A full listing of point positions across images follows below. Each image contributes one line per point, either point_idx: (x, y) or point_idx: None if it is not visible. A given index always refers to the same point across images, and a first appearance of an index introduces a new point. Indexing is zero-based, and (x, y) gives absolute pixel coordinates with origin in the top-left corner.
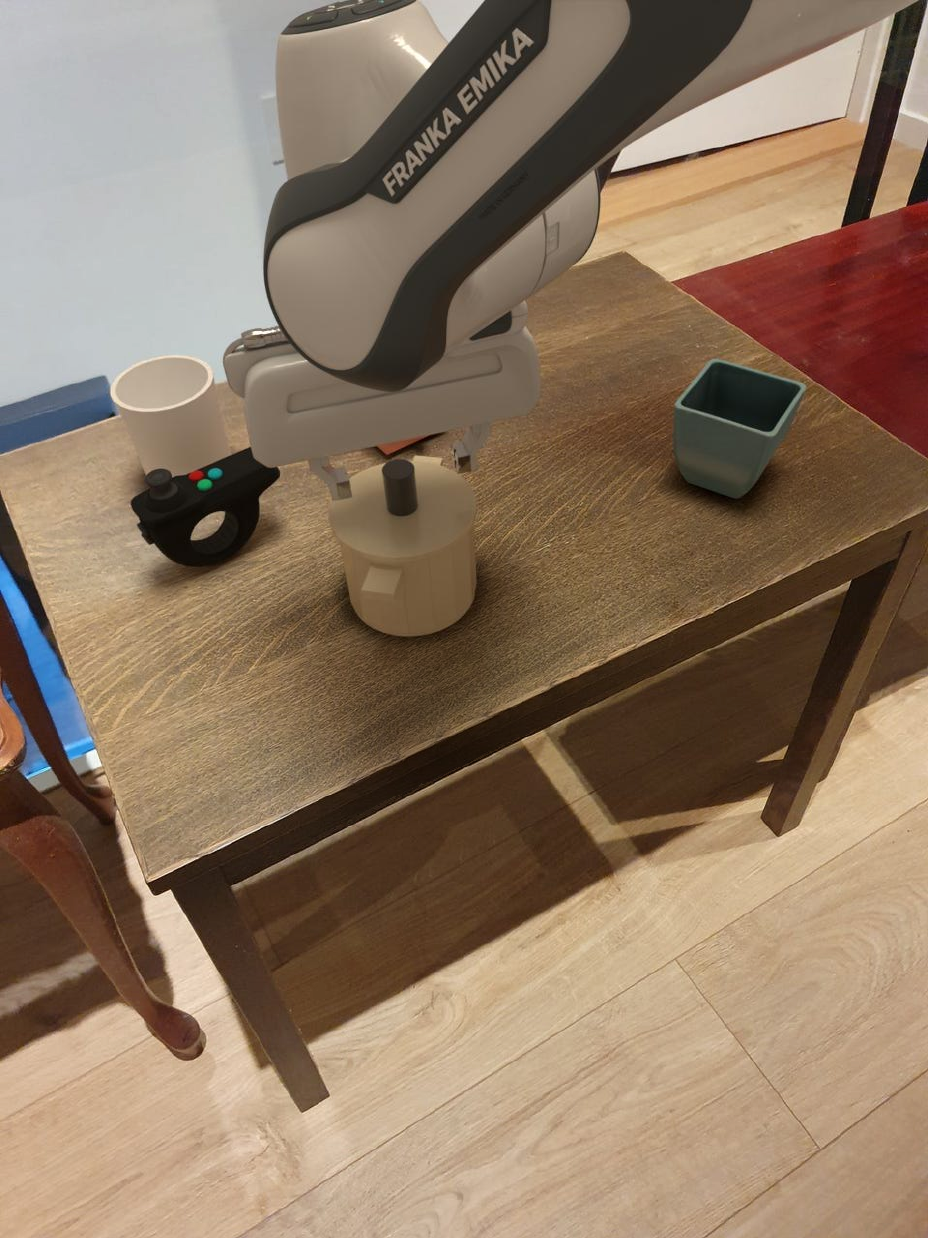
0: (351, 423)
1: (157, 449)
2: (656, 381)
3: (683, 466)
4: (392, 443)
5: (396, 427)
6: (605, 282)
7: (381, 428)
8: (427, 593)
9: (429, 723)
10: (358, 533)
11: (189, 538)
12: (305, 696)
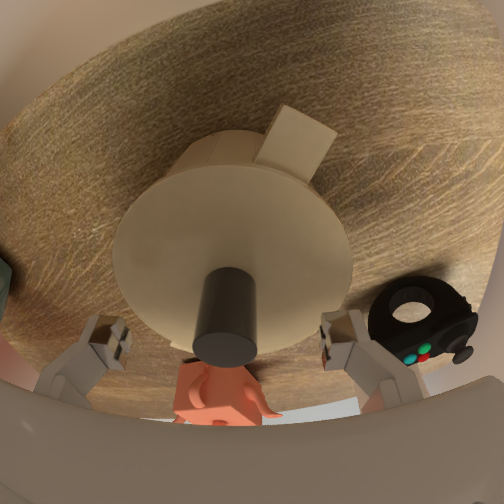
0: (340, 500)
1: (416, 376)
2: (49, 349)
3: (3, 278)
4: None
5: (207, 470)
6: (93, 407)
7: (252, 477)
8: (220, 145)
9: (257, 9)
10: (318, 247)
11: (437, 299)
12: (384, 89)
